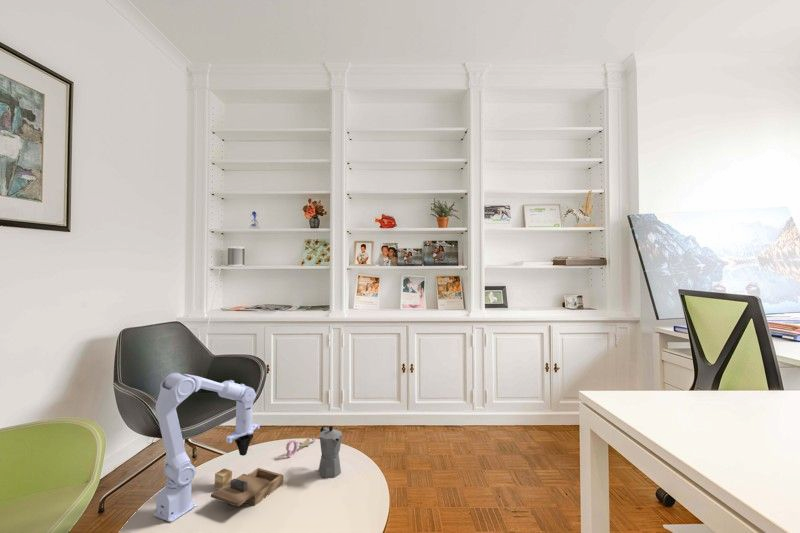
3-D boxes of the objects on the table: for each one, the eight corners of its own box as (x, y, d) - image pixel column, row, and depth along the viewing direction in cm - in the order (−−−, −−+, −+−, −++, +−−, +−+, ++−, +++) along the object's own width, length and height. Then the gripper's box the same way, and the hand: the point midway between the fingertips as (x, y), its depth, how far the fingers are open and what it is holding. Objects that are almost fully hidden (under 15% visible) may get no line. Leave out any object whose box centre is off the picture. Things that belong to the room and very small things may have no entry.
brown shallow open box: (254, 505, 124) (255, 495, 124) (228, 496, 129) (228, 486, 129) (283, 484, 137) (283, 474, 137) (258, 476, 142) (258, 467, 142)
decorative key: (316, 447, 173) (286, 458, 155) (314, 447, 174) (284, 458, 156) (318, 432, 174) (289, 441, 157) (316, 431, 175) (286, 441, 157)
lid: (238, 506, 118) (238, 495, 118) (210, 497, 122) (211, 486, 122) (269, 484, 130) (269, 474, 131) (243, 476, 135) (243, 466, 135)
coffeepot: (348, 476, 144) (349, 429, 144) (325, 483, 138) (327, 435, 139) (330, 459, 156) (332, 416, 157) (309, 466, 151) (310, 421, 151)
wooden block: (222, 490, 133) (223, 476, 133) (214, 487, 134) (215, 473, 134) (231, 484, 136) (232, 470, 137) (223, 482, 138) (224, 468, 138)
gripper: (236, 427, 132) (235, 465, 131) (266, 413, 145) (265, 448, 145) (222, 423, 135) (221, 461, 134) (252, 410, 148) (251, 445, 148)
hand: (243, 454), depth 140 cm, fingers closed
